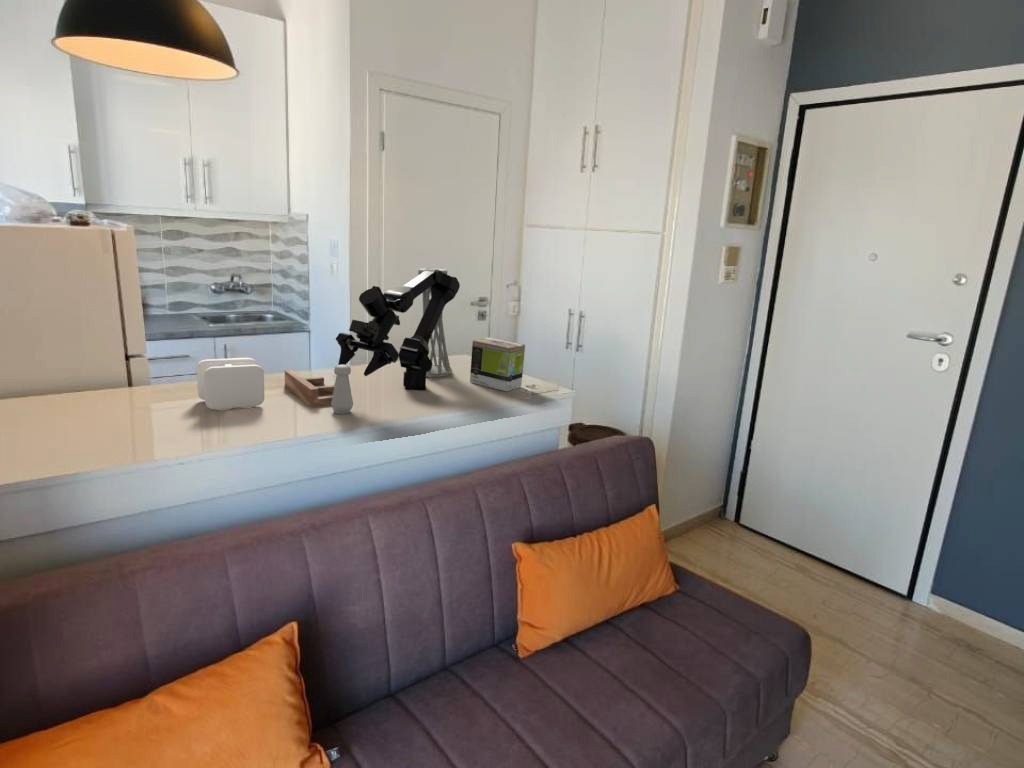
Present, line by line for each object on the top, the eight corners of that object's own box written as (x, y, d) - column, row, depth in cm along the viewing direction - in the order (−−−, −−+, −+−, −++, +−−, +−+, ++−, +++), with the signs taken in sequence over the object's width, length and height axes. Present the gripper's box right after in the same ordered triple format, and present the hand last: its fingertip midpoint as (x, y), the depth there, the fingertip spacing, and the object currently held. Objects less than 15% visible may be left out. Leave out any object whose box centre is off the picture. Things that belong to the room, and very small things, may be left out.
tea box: (522, 387, 207) (526, 344, 203) (505, 392, 198) (510, 348, 194) (485, 377, 214) (489, 335, 210) (468, 382, 206) (471, 339, 202)
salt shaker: (357, 411, 168) (358, 365, 165) (343, 416, 163) (344, 369, 160) (340, 407, 170) (341, 361, 167) (326, 412, 165) (326, 365, 162)
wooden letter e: (322, 382, 190) (322, 367, 189) (350, 401, 175) (350, 385, 174) (284, 386, 183) (284, 370, 182) (310, 406, 168) (311, 389, 167)
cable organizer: (202, 412, 157) (200, 368, 154) (197, 400, 165) (195, 358, 162) (264, 407, 165) (263, 365, 162) (257, 396, 173) (256, 356, 170)
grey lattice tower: (411, 367, 218) (410, 267, 209) (449, 367, 221) (450, 268, 212) (414, 377, 205) (414, 270, 196) (454, 376, 208) (455, 271, 199)
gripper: (340, 303, 171) (310, 348, 165) (394, 314, 163) (364, 361, 156) (359, 328, 180) (331, 371, 173) (410, 339, 172) (383, 385, 165)
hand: (351, 371), depth 167 cm, fingers open, 9 cm apart
